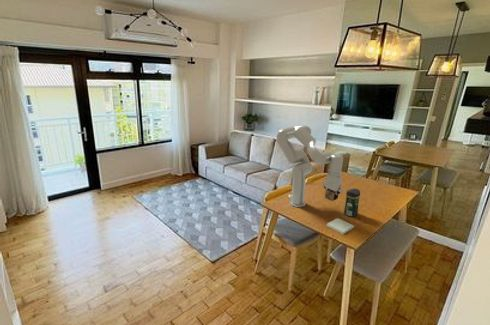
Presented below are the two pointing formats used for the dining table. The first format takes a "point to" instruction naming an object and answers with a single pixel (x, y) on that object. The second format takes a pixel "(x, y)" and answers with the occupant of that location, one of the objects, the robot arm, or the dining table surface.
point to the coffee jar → (352, 202)
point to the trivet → (340, 225)
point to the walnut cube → (329, 194)
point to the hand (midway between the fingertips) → (331, 197)
